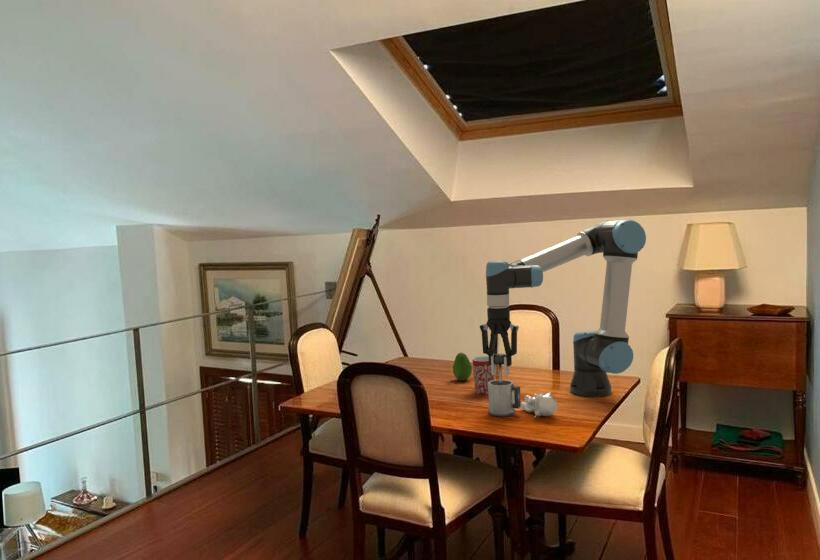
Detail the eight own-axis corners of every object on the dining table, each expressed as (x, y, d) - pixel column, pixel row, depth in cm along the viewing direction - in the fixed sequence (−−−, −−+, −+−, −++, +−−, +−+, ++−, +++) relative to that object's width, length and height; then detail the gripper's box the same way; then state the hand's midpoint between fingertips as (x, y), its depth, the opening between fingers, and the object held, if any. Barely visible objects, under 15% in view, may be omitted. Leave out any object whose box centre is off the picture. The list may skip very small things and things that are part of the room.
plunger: (512, 403, 212) (510, 353, 211) (506, 407, 207) (504, 356, 206) (496, 401, 215) (495, 352, 214) (490, 405, 210) (489, 355, 209)
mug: (499, 394, 235) (498, 359, 234) (475, 396, 234) (474, 361, 233) (491, 386, 248) (490, 353, 247) (469, 388, 247) (468, 355, 246)
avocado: (452, 382, 258) (451, 354, 257) (454, 378, 265) (453, 350, 264) (471, 382, 256) (470, 354, 255) (472, 378, 264) (471, 350, 263)
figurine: (527, 385, 216) (552, 385, 202) (542, 398, 217) (567, 399, 204) (511, 409, 213) (535, 411, 199) (526, 422, 214) (551, 425, 200)
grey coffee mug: (524, 411, 212) (523, 381, 211) (514, 418, 204) (513, 387, 203) (494, 408, 217) (493, 378, 217) (484, 415, 209) (483, 384, 209)
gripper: (526, 305, 208) (528, 374, 209) (479, 305, 216) (481, 370, 218) (518, 308, 201) (520, 379, 203) (470, 307, 210) (473, 375, 211)
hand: (500, 374), depth 210 cm, fingers closed on plunger, 4 cm apart
